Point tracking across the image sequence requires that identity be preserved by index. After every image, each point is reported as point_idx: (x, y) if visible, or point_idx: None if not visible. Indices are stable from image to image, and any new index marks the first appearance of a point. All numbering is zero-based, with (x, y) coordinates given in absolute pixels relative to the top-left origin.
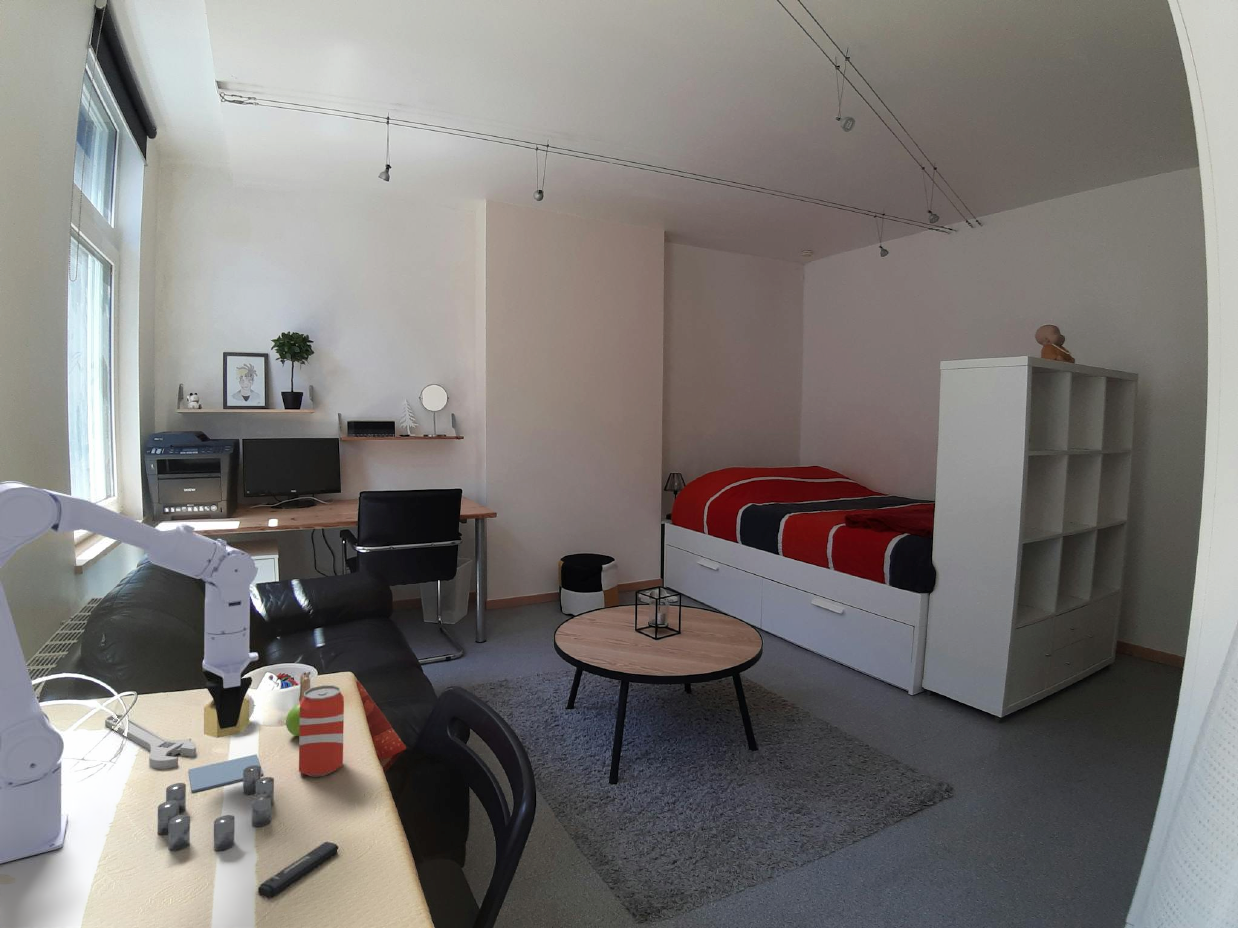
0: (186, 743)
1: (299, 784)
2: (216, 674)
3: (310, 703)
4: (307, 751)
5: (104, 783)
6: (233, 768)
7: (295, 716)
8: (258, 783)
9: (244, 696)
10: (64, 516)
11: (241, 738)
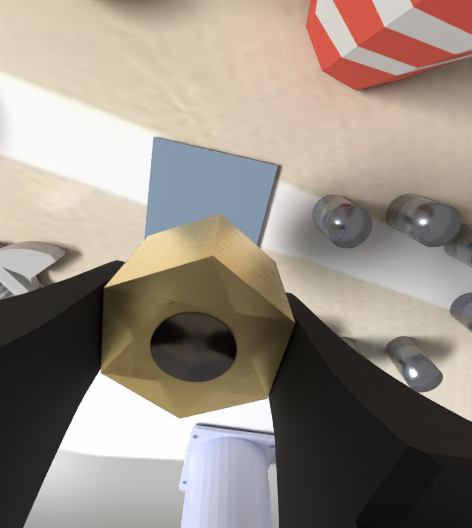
0: (10, 263)
1: (395, 113)
2: (4, 520)
3: None
4: (442, 65)
5: (104, 380)
6: (200, 210)
7: None
8: (434, 242)
9: (396, 379)
10: None
11: (6, 127)
